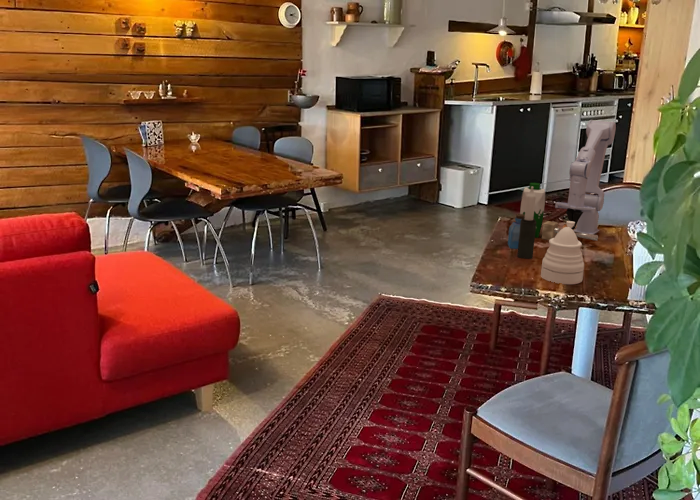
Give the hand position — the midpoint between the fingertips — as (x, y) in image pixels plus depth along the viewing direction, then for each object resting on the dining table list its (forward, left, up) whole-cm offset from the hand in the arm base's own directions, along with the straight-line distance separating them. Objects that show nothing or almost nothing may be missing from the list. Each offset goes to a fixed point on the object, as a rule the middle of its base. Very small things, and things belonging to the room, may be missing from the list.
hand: (572, 229), depth 253 cm
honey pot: (+43, +11, -6) cm, 45 cm away
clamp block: (0, -9, -5) cm, 10 cm away
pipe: (0, -1, -3) cm, 3 cm away
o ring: (0, -2, -5) cm, 6 cm away
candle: (+29, -7, -5) cm, 30 cm away
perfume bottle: (+19, -14, -6) cm, 24 cm away
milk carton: (0, -16, -5) cm, 17 cm away
